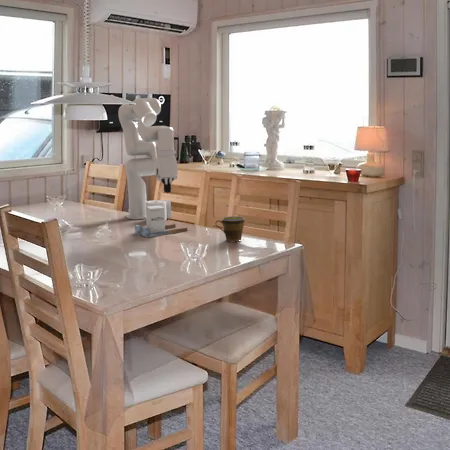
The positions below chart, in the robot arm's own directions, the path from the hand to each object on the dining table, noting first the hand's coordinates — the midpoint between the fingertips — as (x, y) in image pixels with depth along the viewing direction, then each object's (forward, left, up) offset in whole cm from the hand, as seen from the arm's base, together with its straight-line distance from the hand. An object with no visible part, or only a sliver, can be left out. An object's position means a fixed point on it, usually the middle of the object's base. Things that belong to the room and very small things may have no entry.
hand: (167, 192), depth 294 cm
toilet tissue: (-26, +9, -19) cm, 34 cm away
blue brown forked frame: (0, -4, -19) cm, 19 cm away
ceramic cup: (+36, +10, -19) cm, 42 cm away
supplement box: (+1, -7, -19) cm, 20 cm away
